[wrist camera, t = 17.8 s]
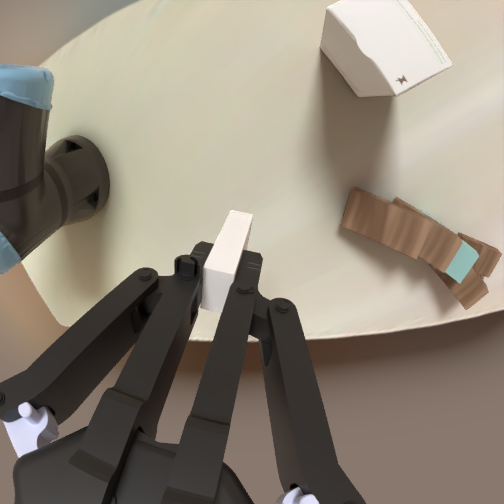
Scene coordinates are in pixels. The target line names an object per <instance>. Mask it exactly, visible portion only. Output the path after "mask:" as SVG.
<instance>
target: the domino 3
mask: <svg viewBox="0 0 504 504" xmlns="http://www.w3.org/2000/svg"><path fill="white" fill-rule="evenodd" d="M458 236H459V237H460V238H461V239H462V240H463V241H465V242H466V243H467V244H468V245H470V246H471V247H472V248H473V249H475V250H476V251H477V253H478V255H479V257H478V259H477V260H476V262H475V263H474V265H473V267H474V268H475V270H476V271H477V273H478V274H480V275H483V276H486V277H489V276H490V275H491V273H492V271H493V270H494V268H495V266H496V264H497V262H498V261H499V259H500V257H501V255H502V254H501V252H500V251H499V250H498V249H496V248H494V247H492V246H490V245H488V244H485V243H483V242H481V241H478V240H476V239H474V238H471V237H469V236H467V235H464V234H462V233H458Z"/></svg>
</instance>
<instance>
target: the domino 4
mask: <svg viewBox="0 0 504 504" xmlns="http://www.w3.org/2000/svg"><path fill="white" fill-rule="evenodd" d="M429 265H430V266H431V267H432V268H433V270H434V271H435V272H436V273H437V274H438V276H439V277H440V278H441V279H442V280H443V282H444V283H445V284H446V285H447V286H448V288H449V289H450V290H451V291H452V293H453V294H454V295H455V296H456V298H457V299H458V300H459V302H460V303H461V304H462V306H463V307H464V308H465V310H467V309H469V308H470V307H471V306H472V305H474V304H475V303H476V302H478V301H479V300H480V299H481V298H482V297H484V296H485V295H486V294H487V293H489V292H488V289H487V285H486V284H485V283H484V281H483V280H482V278H481V277H480V275H479V274H478V273H477V271H476V270H475V268H474V267H473V266H472V268H471V269H470V271H469V272H468V273H467V275H466V276H465V278H464V279H463V280H462V282H461V283H458V282H457V281H456V280H455V279H453V278H452V277H451V276H449V275H448V274H447V273H445V272H444V273H443V272H441V271H440V270H438V269H437V268H435V267H434V266H432V265H431V264H429Z"/></svg>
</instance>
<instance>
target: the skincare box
mask: <svg viewBox="0 0 504 504" xmlns="http://www.w3.org/2000/svg"><path fill="white" fill-rule="evenodd" d="M320 48H321V50H322V51H323V52H324V54H325V55H326V56H327V57H328V58H329V60H330V61H331V62H332V63H333V65H334V66H335V67H336V68H337V70H338V71H339V72H340V74H341V75H342V76H343V78H344V79H345V80H346V82H347V83H348V84H349V86H350V87H351V88H352V90H353V91H354V92H355V94H356V95H357V96H358V97H372V96H396V97H398V96H400V95H402V94H403V93H405V92H407V91H409V90H410V89H412V88H414V87H416V86H417V85H419V84H421V83H423V82H424V81H426V80H428V79H430V78H431V77H433V76H435V75H437V74H439V73H440V72H442V71H444V70H446V69H448V68H449V67H451V66H453V65H452V63H451V61H450V60H449V58H448V56H447V55H446V53H445V52H444V50H443V48H442V47H441V45H440V44H439V42H438V41H437V39H436V38H435V36H434V35H433V33H432V32H431V31H430V29H429V28H428V26H427V25H426V24H425V22H424V21H423V20H422V18H421V17H420V16H419V14H418V13H417V12H416V10H415V9H414V8H413V7H412V5H411V4H410V3H409V2H408V1H407V0H341V1H339V2H337V3H335V4H333V5H330V6H328V7H327V9H326V15H325V21H324V27H323V33H322V38H321V44H320Z"/></svg>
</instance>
